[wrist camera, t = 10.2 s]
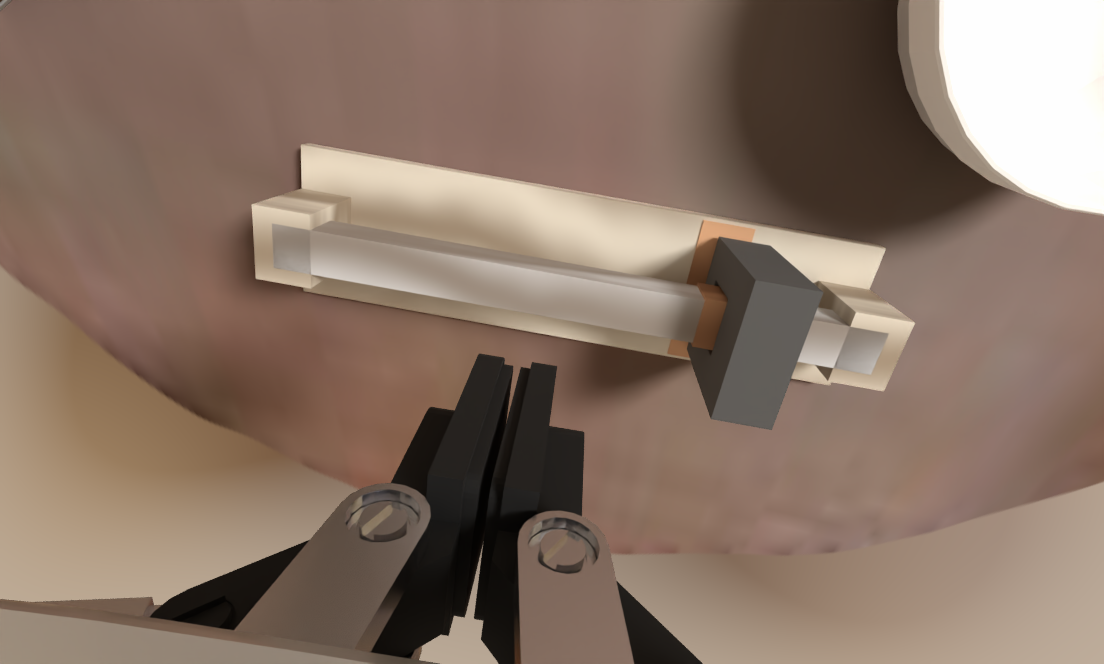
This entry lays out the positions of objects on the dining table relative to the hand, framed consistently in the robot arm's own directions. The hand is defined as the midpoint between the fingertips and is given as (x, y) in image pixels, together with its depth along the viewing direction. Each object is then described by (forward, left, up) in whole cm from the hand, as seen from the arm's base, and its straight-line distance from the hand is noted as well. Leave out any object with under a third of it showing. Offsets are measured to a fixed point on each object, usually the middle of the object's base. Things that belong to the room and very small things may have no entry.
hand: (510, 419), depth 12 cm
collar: (+3, +10, -22) cm, 25 cm away
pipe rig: (+3, +1, -24) cm, 24 cm away
